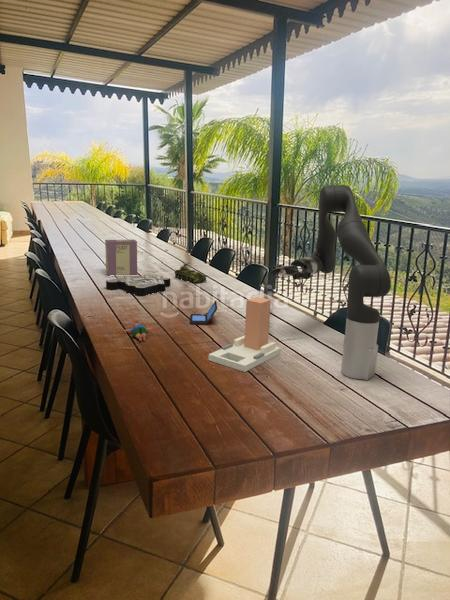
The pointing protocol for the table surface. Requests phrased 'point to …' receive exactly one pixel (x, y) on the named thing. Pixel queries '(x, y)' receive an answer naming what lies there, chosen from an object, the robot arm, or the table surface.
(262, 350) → the white stand base
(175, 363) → the table surface
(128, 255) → the box
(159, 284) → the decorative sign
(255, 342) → the block
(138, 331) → the toy character
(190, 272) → the toy vehicle
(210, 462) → the table surface
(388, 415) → the table surface
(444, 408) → the table surface
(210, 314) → the object
